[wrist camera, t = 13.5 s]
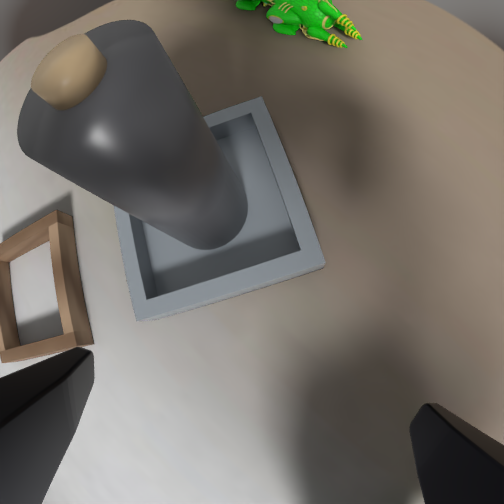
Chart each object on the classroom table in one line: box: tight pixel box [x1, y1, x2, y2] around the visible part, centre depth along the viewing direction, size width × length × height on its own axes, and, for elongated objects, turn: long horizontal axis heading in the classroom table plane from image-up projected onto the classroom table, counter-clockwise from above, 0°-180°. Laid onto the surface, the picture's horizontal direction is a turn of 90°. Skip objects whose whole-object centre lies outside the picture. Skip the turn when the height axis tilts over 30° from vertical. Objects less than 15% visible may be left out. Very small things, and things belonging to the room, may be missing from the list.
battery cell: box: [17, 20, 248, 250], centre depth 13 cm, size 5×5×14 cm
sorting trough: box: [114, 96, 326, 321], centre depth 19 cm, size 11×11×2 cm
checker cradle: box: [0, 210, 94, 363], centre depth 21 cm, size 10×10×2 cm
